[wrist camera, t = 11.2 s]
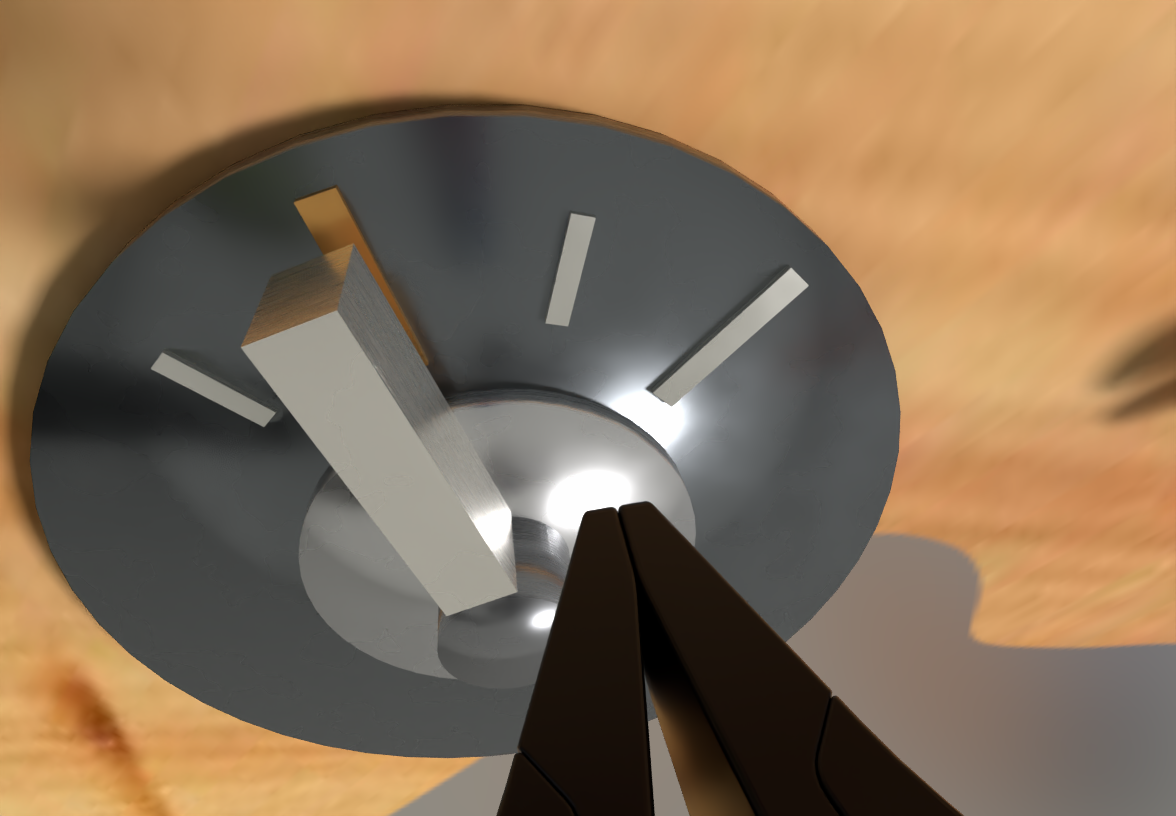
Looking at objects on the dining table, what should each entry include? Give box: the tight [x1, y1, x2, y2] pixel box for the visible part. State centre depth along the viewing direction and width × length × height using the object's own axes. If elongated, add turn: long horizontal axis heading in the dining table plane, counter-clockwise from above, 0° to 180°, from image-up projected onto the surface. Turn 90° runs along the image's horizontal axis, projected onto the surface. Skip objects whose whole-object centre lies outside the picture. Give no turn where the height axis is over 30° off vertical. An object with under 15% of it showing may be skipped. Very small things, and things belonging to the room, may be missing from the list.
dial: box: [241, 243, 696, 689], centre depth 21 cm, size 17×12×4 cm
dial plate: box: [30, 105, 900, 758], centre depth 24 cm, size 26×26×1 cm
